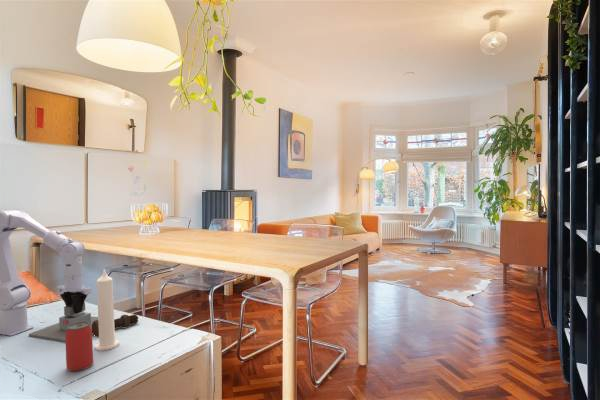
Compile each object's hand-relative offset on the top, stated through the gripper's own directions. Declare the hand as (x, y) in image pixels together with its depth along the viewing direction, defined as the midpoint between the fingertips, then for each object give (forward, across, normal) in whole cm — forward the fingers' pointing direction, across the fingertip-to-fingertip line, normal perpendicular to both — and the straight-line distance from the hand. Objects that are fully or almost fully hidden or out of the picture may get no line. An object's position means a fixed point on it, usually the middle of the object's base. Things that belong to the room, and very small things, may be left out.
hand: (75, 312), depth 134 cm
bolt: (+7, +15, +4) cm, 17 cm away
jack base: (+6, 0, 0) cm, 6 cm away
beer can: (+6, +28, -21) cm, 36 cm away
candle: (+6, +24, -8) cm, 26 cm away
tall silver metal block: (+5, 0, 0) cm, 5 cm away
